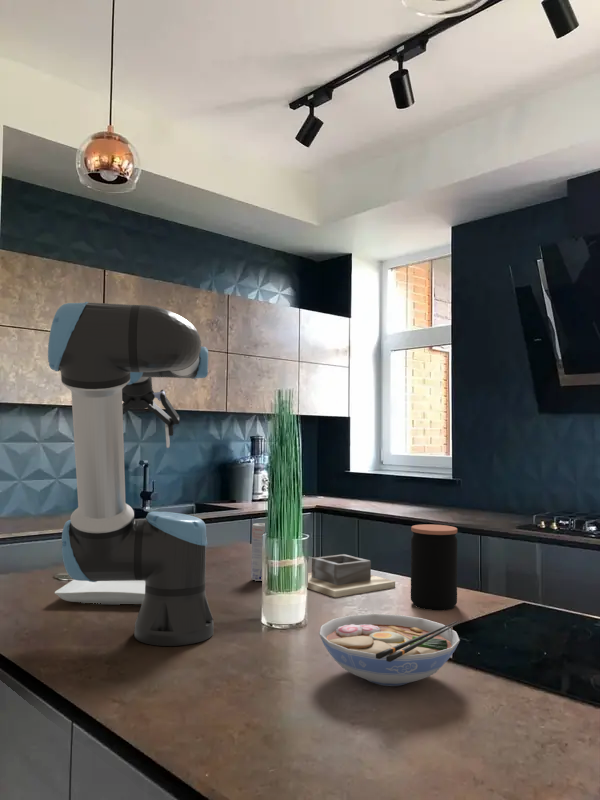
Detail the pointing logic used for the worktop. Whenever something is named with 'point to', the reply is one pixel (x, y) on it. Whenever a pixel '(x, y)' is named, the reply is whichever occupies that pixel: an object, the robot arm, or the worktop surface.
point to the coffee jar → (434, 567)
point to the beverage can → (257, 551)
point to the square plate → (103, 592)
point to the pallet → (344, 576)
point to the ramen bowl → (389, 646)
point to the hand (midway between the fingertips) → (142, 445)
